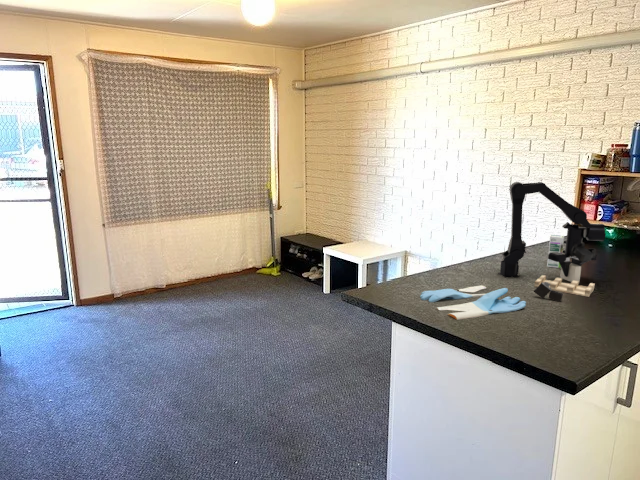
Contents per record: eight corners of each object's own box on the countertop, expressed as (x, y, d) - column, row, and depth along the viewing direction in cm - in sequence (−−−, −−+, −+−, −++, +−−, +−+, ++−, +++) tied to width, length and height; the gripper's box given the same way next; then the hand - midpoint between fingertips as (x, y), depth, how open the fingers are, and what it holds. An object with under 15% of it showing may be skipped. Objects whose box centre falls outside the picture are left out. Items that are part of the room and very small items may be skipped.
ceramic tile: (574, 283, 188) (576, 266, 187) (560, 277, 196) (562, 261, 194) (579, 282, 189) (581, 266, 187) (565, 277, 196) (567, 261, 195)
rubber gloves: (410, 296, 173) (411, 279, 172) (481, 287, 184) (483, 271, 183) (456, 322, 148) (457, 302, 147) (535, 309, 159) (537, 291, 158)
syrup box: (546, 266, 213) (549, 236, 210) (547, 264, 218) (550, 233, 215) (560, 268, 210) (564, 237, 207) (560, 265, 215) (564, 235, 212)
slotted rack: (588, 296, 171) (589, 291, 171) (534, 286, 183) (534, 281, 182) (594, 289, 180) (594, 283, 180) (541, 280, 192) (542, 275, 191)
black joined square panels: (554, 305, 169) (565, 295, 166) (554, 307, 167) (565, 296, 164) (534, 289, 172) (544, 278, 169) (533, 291, 170) (543, 280, 167)
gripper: (568, 244, 179) (564, 283, 182) (609, 242, 183) (604, 280, 186) (549, 238, 190) (545, 275, 193) (588, 237, 193) (583, 273, 197)
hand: (570, 276), depth 192 cm, fingers open, 3 cm apart
